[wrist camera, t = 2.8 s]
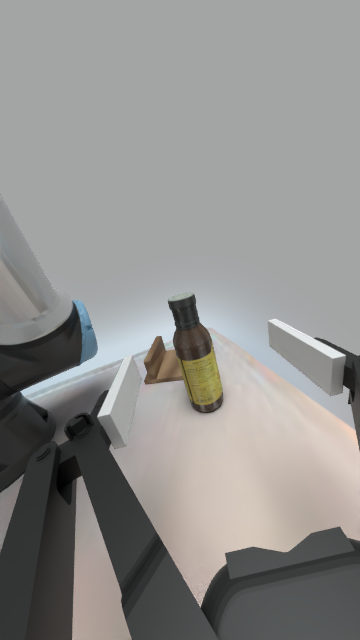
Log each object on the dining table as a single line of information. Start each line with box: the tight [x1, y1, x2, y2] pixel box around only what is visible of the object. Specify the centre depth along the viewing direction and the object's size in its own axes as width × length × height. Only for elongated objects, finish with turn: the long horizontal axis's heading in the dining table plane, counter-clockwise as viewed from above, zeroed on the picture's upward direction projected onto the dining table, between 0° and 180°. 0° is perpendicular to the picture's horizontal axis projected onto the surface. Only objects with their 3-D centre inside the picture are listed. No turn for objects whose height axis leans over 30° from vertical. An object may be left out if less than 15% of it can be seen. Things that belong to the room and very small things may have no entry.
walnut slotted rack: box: [144, 336, 184, 384], centre depth 43 cm, size 14×12×6 cm
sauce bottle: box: [168, 293, 223, 412], centre depth 28 cm, size 6×6×20 cm
